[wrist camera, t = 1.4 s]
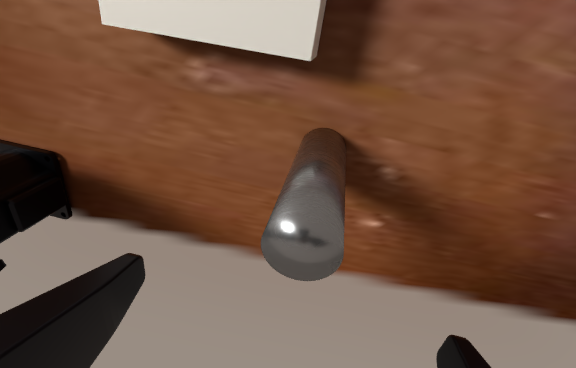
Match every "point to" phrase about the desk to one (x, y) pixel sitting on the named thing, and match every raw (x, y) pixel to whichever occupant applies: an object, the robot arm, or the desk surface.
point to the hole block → (227, 22)
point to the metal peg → (310, 211)
